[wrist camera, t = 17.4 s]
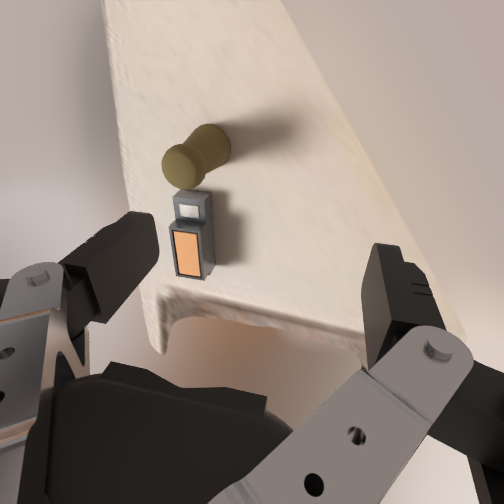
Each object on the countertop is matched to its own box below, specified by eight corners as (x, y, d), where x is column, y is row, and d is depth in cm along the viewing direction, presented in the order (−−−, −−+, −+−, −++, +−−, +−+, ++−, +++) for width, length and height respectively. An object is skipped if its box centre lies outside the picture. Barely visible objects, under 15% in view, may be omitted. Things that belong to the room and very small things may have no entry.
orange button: (179, 225, 48) (173, 231, 47) (200, 228, 48) (196, 234, 46) (184, 266, 53) (179, 273, 51) (204, 269, 52) (200, 276, 50)
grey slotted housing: (180, 189, 49) (165, 203, 44) (211, 192, 48) (198, 207, 43) (189, 261, 56) (176, 279, 52) (215, 265, 56) (204, 284, 51)
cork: (182, 143, 45) (143, 167, 36) (209, 114, 41) (174, 132, 33) (211, 175, 46) (181, 206, 37) (239, 149, 43) (214, 176, 34)
